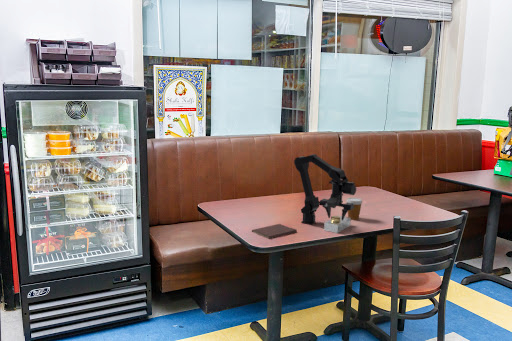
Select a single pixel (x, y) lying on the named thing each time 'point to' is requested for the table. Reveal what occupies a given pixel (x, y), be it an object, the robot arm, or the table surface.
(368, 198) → the table surface
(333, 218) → the brass pin
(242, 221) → the table surface
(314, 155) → the robot arm
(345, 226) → the grey white block
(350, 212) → the disposable coffee cup
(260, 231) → the notebook
